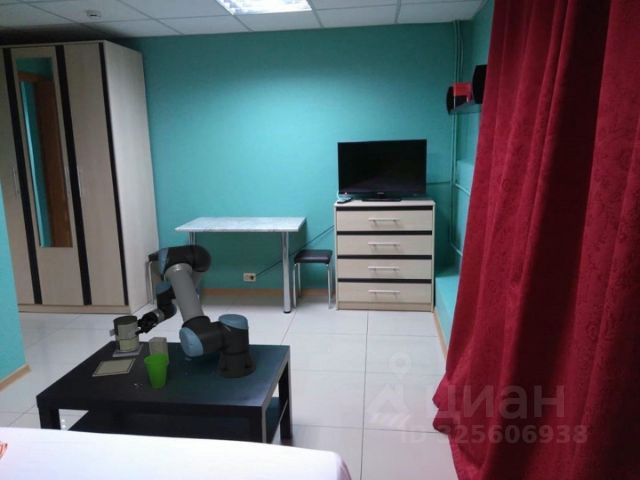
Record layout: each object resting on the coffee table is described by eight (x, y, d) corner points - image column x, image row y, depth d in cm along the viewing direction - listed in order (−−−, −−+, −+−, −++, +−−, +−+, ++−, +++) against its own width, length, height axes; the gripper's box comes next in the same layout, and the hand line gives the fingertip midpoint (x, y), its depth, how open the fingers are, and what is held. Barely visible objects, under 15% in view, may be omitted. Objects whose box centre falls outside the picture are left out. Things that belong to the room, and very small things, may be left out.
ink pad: (138, 354, 209) (138, 352, 209) (112, 357, 207) (112, 354, 207) (143, 345, 220) (142, 343, 219) (118, 347, 218) (118, 345, 217)
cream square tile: (128, 372, 191) (128, 371, 191) (92, 376, 188) (92, 375, 188) (135, 358, 204) (135, 358, 204) (101, 362, 202) (101, 361, 202)
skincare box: (169, 363, 198) (167, 337, 196) (164, 368, 194) (161, 341, 192) (156, 362, 200) (154, 336, 198) (150, 367, 195) (148, 340, 193)
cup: (141, 389, 176) (139, 362, 174) (153, 378, 185) (151, 353, 183) (164, 390, 175) (161, 363, 173) (174, 379, 184) (172, 353, 182)
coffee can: (111, 351, 210) (107, 321, 207) (126, 342, 220) (124, 314, 217) (129, 353, 207) (126, 323, 204) (144, 344, 216) (142, 316, 214)
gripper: (172, 328, 225) (140, 345, 205) (134, 323, 233) (100, 340, 212) (171, 313, 224) (139, 329, 203) (133, 309, 231) (99, 324, 211)
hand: (119, 334), depth 208 cm, fingers closed on coffee can, 10 cm apart
